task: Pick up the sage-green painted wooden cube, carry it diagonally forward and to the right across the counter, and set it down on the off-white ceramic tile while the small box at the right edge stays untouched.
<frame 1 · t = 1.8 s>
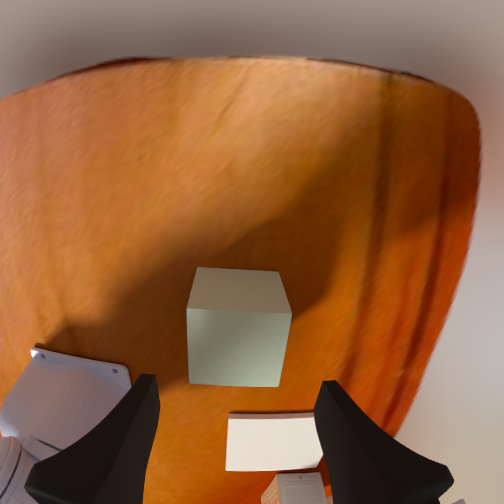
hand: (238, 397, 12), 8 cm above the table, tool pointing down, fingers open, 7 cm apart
tile: (278, 443, 26), on the table
small box: (288, 483, 30), on the table
cube: (235, 304, 20), on the table
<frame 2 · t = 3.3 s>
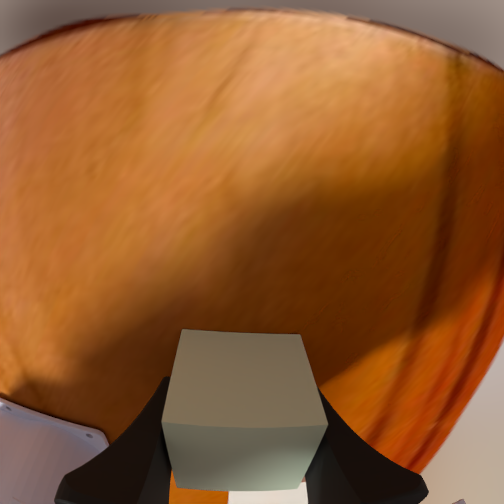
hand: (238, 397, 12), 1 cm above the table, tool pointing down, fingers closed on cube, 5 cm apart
tile: (287, 499, 19), on the table
cube: (238, 375, 13), on the table, touching gripper
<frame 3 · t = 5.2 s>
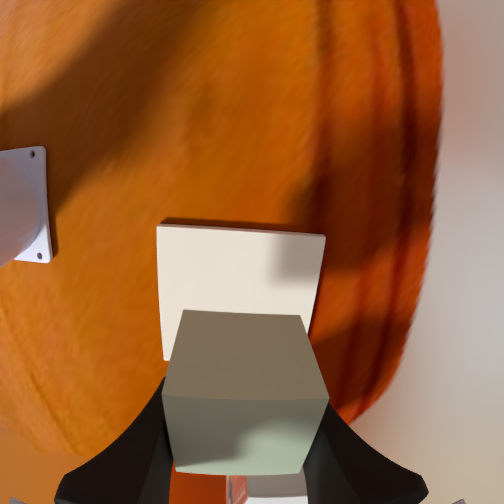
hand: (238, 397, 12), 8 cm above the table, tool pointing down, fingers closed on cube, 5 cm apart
tile: (236, 302, 20), on the table
small box: (263, 408, 24), on the table
cube: (238, 358, 14), point 6 cm above the table, touching gripper
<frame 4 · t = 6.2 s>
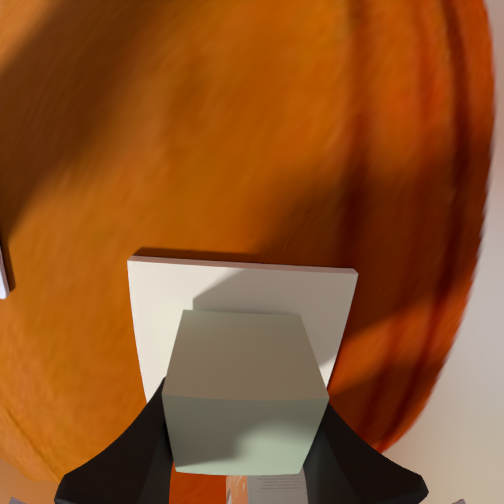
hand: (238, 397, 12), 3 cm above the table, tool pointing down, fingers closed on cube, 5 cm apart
tile: (237, 354, 15), on the table
small box: (269, 458, 19), on the table
cube: (238, 358, 14), point 1 cm above the table, touching gripper
when the fingers open (3 cm above the table, at t = 7.1 s): cube stays where it is, resting on tile.
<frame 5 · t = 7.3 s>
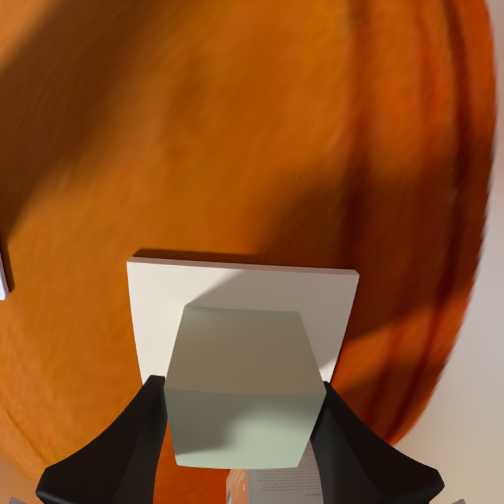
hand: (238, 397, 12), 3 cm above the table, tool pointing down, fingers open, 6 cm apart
tile: (237, 355, 15), on the table
small box: (269, 459, 19), on the table
cube: (238, 353, 14), point 1 cm above the table, touching tile
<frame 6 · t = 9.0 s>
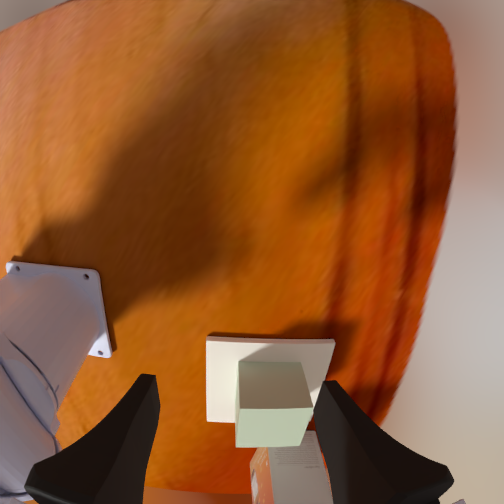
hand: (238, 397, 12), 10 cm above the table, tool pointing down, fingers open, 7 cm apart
tile: (265, 383, 25), on the table
small box: (280, 446, 29), on the table
cube: (266, 383, 24), point 1 cm above the table, touching tile
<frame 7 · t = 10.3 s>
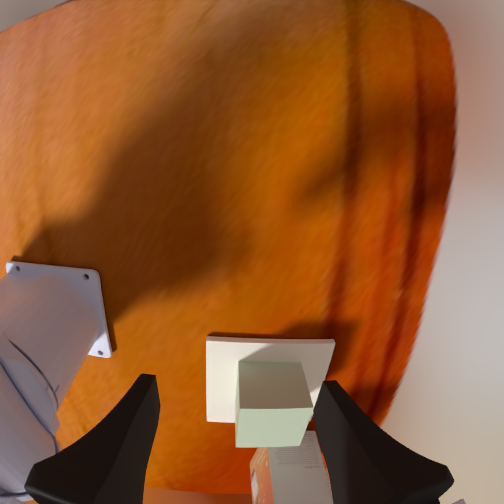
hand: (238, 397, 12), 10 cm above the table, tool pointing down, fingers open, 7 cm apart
tile: (265, 383, 25), on the table
small box: (280, 446, 29), on the table
cube: (266, 383, 24), point 1 cm above the table, touching tile
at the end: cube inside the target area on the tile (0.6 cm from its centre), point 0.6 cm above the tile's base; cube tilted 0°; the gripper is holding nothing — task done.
